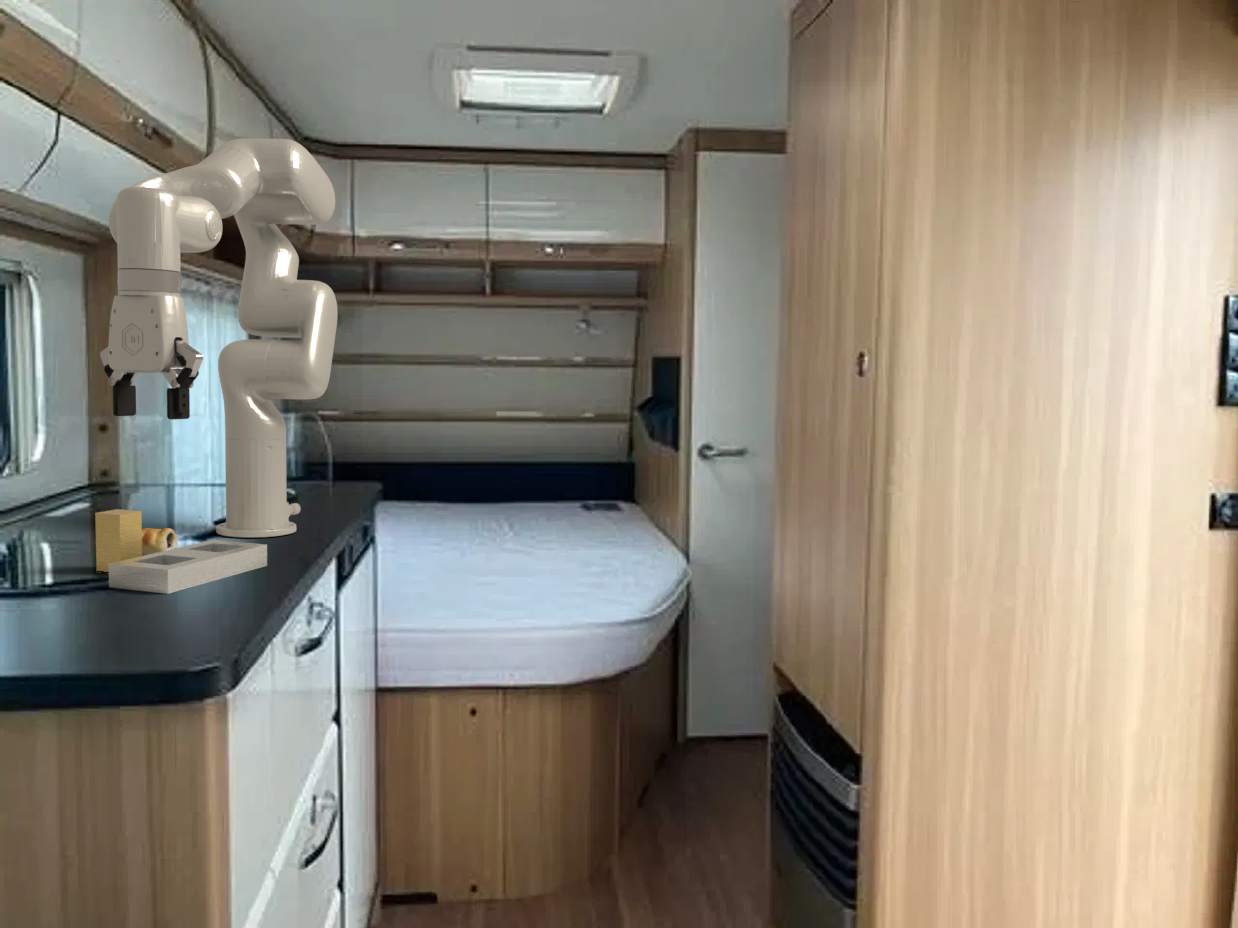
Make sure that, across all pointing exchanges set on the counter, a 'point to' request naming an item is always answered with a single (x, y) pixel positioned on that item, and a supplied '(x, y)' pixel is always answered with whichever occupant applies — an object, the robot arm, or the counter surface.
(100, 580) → the counter surface
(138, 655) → the counter surface
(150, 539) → the pastry
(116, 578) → the board with square holes
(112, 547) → the wooden block
